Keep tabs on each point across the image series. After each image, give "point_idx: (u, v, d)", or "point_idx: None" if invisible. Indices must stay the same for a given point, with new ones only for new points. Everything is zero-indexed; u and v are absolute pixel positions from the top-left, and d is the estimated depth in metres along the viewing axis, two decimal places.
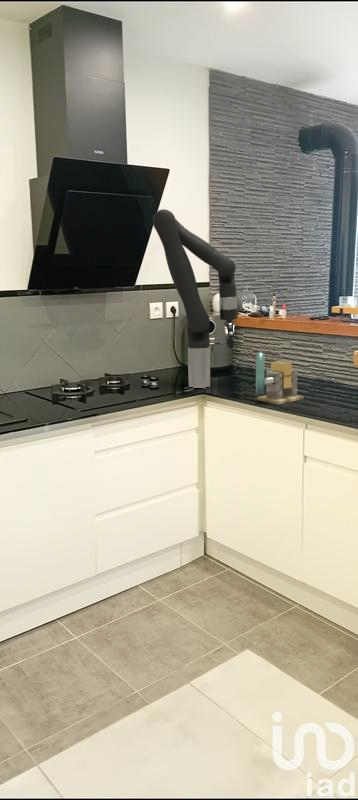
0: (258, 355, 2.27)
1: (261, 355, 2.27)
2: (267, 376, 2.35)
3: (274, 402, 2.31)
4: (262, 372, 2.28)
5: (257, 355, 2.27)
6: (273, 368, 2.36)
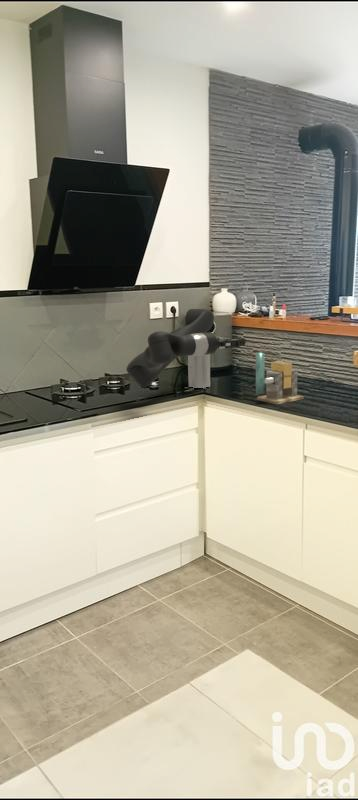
0: (258, 355, 2.27)
1: (261, 355, 2.27)
2: (267, 376, 2.35)
3: (274, 402, 2.31)
4: (262, 372, 2.28)
5: (257, 355, 2.27)
6: (273, 368, 2.36)
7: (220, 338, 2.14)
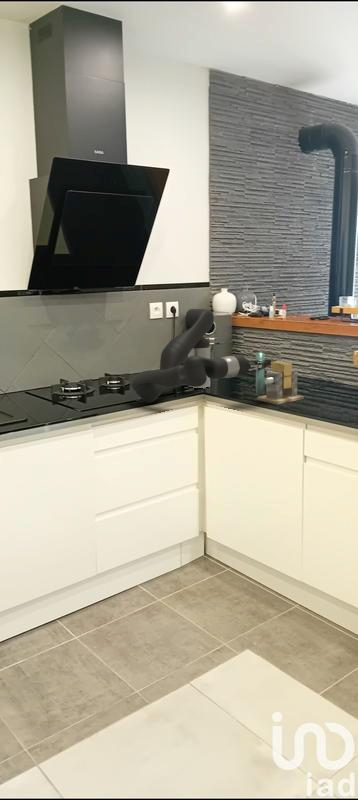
0: (258, 355, 2.27)
1: (261, 355, 2.27)
2: (267, 376, 2.35)
3: (274, 402, 2.31)
4: (262, 372, 2.28)
5: (257, 355, 2.27)
6: (273, 368, 2.36)
7: (250, 360, 2.23)
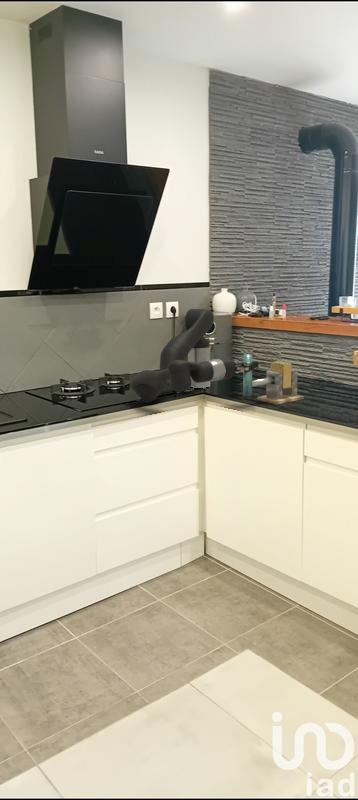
0: (245, 357, 2.23)
1: (248, 357, 2.23)
2: (267, 376, 2.35)
3: (274, 402, 2.31)
4: (249, 374, 2.25)
5: (244, 357, 2.24)
6: (273, 368, 2.36)
7: (236, 363, 2.20)
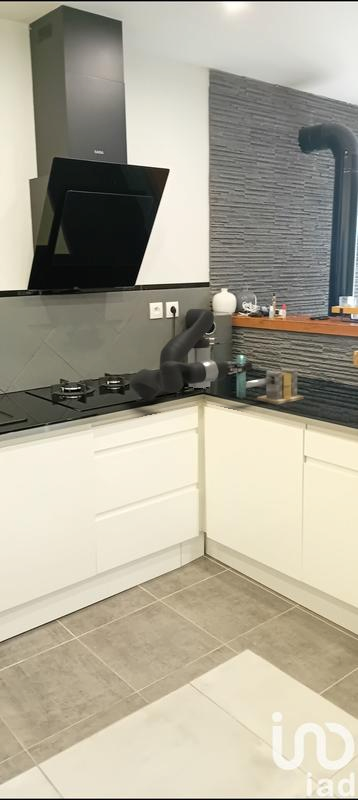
0: (239, 358, 2.22)
1: (242, 358, 2.21)
2: (267, 376, 2.35)
3: (274, 402, 2.31)
4: (243, 375, 2.23)
5: (238, 358, 2.22)
6: None
7: (229, 364, 2.18)
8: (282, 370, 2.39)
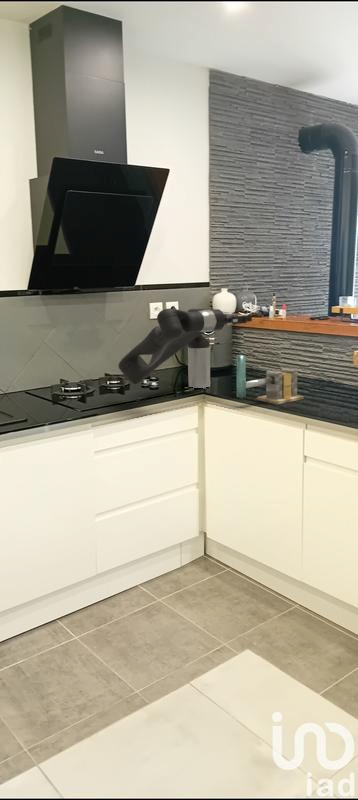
0: (239, 358, 2.22)
1: (242, 358, 2.21)
2: (267, 376, 2.35)
3: (274, 402, 2.31)
4: (243, 375, 2.23)
5: (238, 358, 2.22)
6: None
7: (227, 315, 2.20)
8: (282, 370, 2.39)
